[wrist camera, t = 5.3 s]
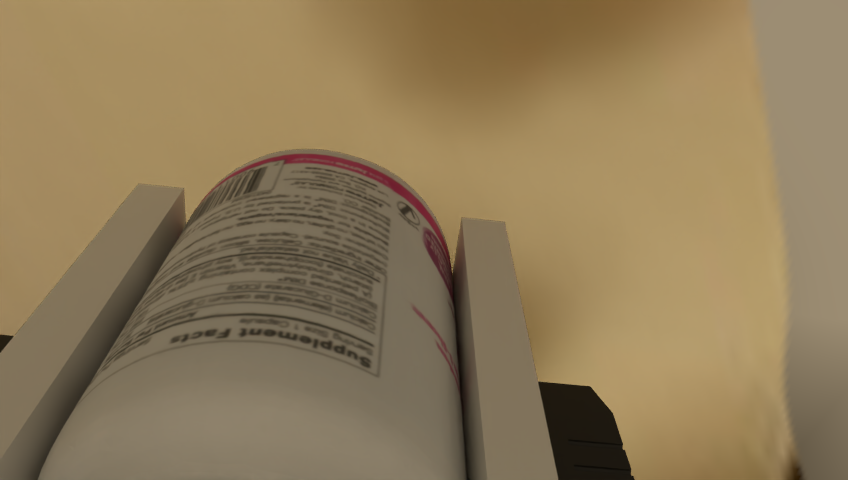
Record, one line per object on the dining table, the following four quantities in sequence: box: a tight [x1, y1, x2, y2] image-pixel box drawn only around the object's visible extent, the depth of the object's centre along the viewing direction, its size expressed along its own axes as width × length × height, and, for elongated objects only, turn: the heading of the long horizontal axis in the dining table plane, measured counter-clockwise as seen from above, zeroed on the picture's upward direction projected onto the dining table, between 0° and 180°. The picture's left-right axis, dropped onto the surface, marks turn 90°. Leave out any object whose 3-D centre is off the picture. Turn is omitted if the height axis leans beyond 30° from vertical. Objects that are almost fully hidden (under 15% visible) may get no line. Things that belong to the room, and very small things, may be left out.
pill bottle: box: [38, 149, 467, 480], centre depth 9 cm, size 5×5×8 cm
